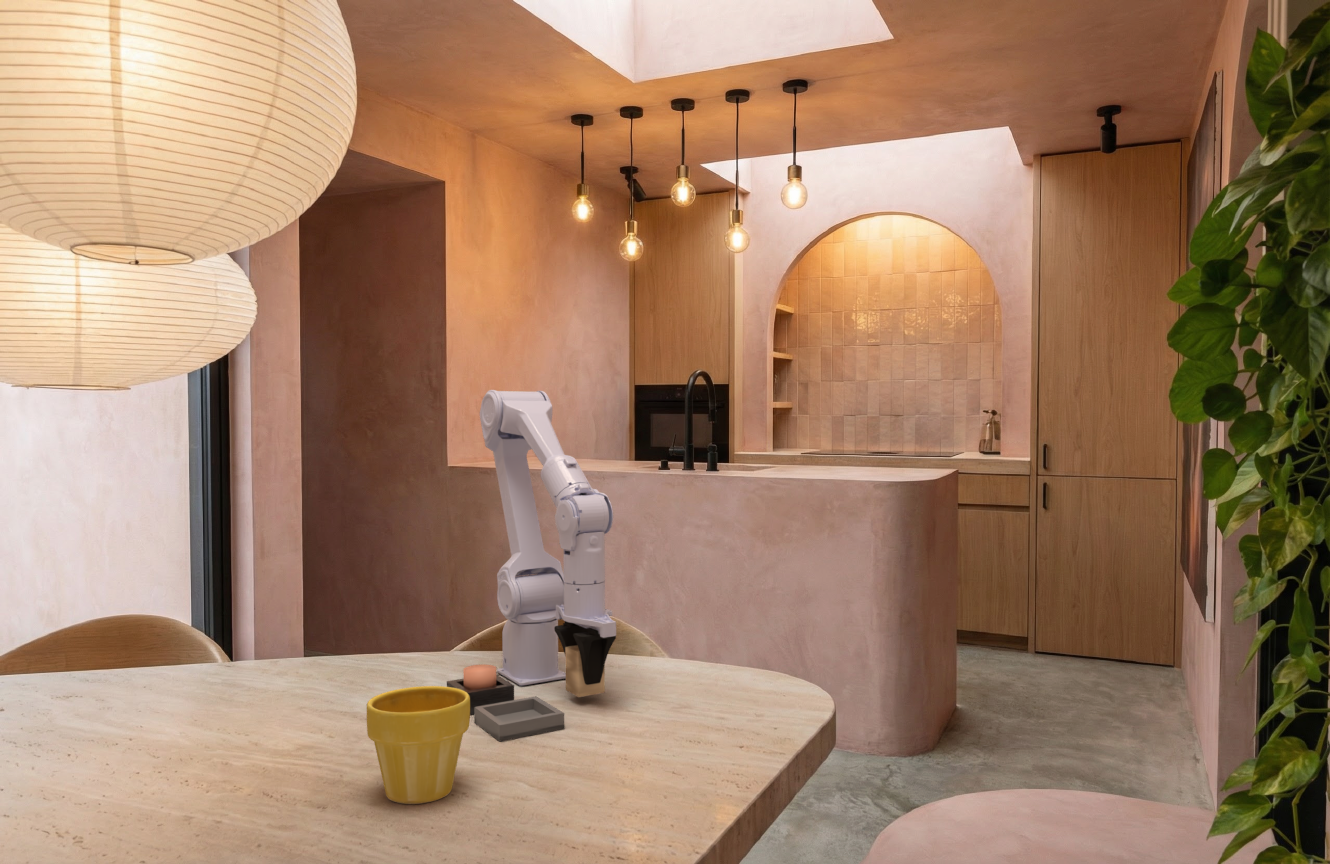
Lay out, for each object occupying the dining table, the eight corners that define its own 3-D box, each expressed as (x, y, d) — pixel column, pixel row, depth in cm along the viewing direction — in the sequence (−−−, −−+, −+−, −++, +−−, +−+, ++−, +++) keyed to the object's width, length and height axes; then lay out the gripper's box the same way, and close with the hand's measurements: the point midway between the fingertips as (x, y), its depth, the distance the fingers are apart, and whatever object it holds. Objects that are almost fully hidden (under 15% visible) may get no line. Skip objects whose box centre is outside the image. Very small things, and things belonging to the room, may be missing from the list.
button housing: (446, 702, 126) (446, 681, 126) (494, 694, 130) (494, 673, 130) (464, 716, 120) (464, 693, 120) (514, 707, 124) (514, 685, 124)
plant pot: (430, 765, 103) (430, 678, 103) (491, 788, 96) (490, 695, 96) (347, 794, 95) (346, 700, 95) (406, 821, 88) (406, 720, 88)
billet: (565, 689, 128) (565, 646, 128) (591, 685, 130) (591, 643, 130) (578, 697, 124) (578, 652, 124) (604, 692, 127) (604, 648, 126)
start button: (459, 689, 126) (458, 667, 126) (489, 684, 128) (489, 662, 128) (470, 696, 122) (470, 674, 122) (501, 691, 125) (501, 669, 125)
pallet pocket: (474, 722, 118) (474, 706, 118) (536, 711, 122) (536, 696, 122) (499, 741, 111) (499, 725, 111) (564, 728, 115) (564, 712, 115)
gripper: (635, 586, 123) (636, 687, 123) (586, 571, 135) (586, 663, 135) (588, 591, 119) (589, 695, 119) (542, 576, 132) (543, 670, 132)
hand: (585, 679), depth 127 cm, fingers closed on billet, 4 cm apart
